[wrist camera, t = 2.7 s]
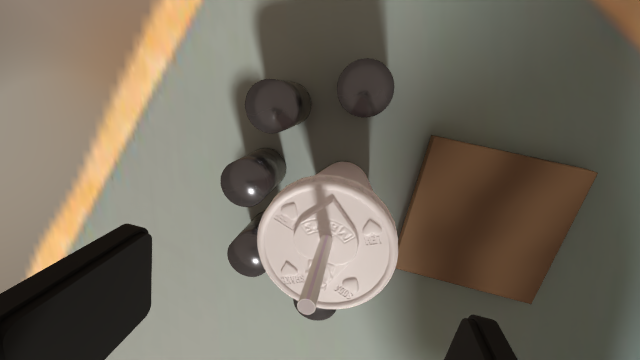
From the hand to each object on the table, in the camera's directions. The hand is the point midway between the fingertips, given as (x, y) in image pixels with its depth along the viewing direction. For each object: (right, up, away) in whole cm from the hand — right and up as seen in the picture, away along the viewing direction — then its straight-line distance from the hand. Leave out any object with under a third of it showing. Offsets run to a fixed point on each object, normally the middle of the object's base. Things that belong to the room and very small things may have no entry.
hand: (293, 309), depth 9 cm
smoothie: (+3, +3, +14) cm, 14 cm away
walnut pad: (+12, +1, +12) cm, 17 cm away
